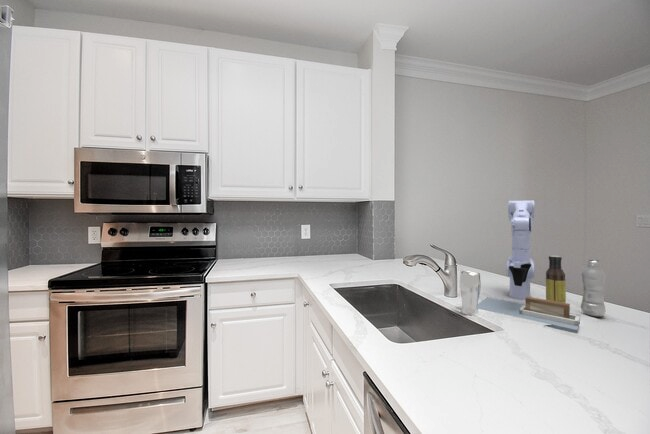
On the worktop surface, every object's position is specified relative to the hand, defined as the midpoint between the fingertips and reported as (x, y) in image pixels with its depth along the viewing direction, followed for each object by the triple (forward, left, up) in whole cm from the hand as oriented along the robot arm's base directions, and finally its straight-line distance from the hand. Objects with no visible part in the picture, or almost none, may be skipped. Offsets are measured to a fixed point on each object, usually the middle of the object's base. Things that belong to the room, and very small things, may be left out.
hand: (520, 283), depth 111 cm
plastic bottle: (-10, +21, -10) cm, 25 cm away
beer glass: (+18, -12, -10) cm, 24 cm away
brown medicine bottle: (-14, +10, -10) cm, 20 cm away
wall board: (+4, +3, -10) cm, 11 cm away
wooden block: (+6, +9, -9) cm, 14 cm away
